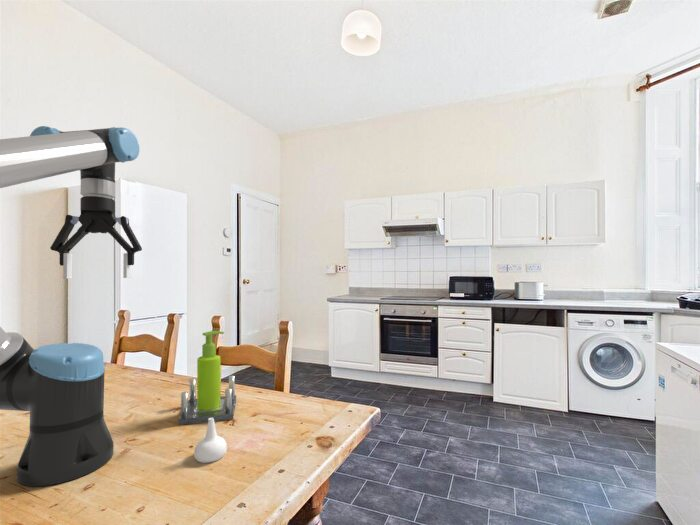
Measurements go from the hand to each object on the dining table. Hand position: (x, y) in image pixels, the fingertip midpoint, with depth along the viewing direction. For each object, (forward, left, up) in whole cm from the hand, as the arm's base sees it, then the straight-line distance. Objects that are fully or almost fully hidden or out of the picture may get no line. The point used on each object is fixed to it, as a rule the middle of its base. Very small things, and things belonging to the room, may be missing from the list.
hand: (97, 278), depth 95 cm
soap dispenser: (-3, -28, -35) cm, 45 cm away
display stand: (-3, -28, -37) cm, 46 cm away
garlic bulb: (-28, -31, -37) cm, 56 cm away
